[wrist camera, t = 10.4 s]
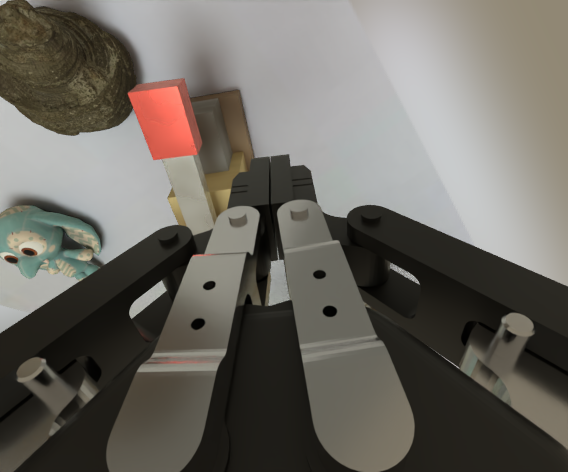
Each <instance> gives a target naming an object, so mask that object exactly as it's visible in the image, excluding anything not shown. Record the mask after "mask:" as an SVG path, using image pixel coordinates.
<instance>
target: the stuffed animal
mask: <svg viewBox="0 0 568 472" xmlns="http://www.w3.org/2000/svg"><path fill="white" fill-rule="evenodd" d="M63 230H64V232H65V233H66V235H67V236H68V237H69V238H71V239H73V240H74V241H76V242H78V243H79V244H81V245H83V246H84V247H86V248H87V249H75V250H70V249H65V248H62V247H61V244H62V237H63ZM100 252H101V244H100V239H99V236H98V235H97V233H96V232H95V230H94V229H93V227H92V226H91V225H88V224H86V223H84V222H83V221H81V220H80V219H78V218H74V217H70V216H66V215H63V214H60V213H52V212H45V211H43V210H41V209H39V208H37V207H36V206H34V205H33V206H15V207H12V208H9V209H6V210H5V211H3V212H2V213H1V214H0V257H1V258H2V259H3V260H5V261H7V262H9V263H11V264H14V265H16V266H17V267H18V268H19V270H20V272H21V274H22V275H24V276H25V277H26V278H28V279H31V278H33V277H34V276H35V275H36V273H37V271H38V269H43V270H47V271H48V273H50V274H57V273H58V272H59V271H61V272H62V273H63V274H64V275H66V276H68V277H74V276H75V277H76V279H77V280H79V281H81V280H83V279H84V278H86V277H87V276H89V275H90V274H92V273H93V272H95V271H96V270H98V269H99V268H100V267H99V266H96V265H91V264H88V263H87V261H90V260H91V259H92V257H93V253H95V254H97V255H98V256H99V254H100Z"/></svg>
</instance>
